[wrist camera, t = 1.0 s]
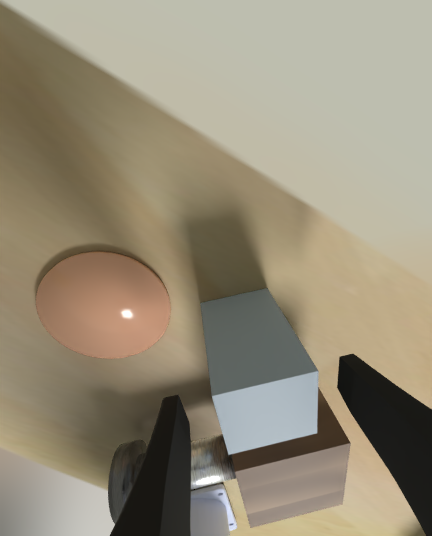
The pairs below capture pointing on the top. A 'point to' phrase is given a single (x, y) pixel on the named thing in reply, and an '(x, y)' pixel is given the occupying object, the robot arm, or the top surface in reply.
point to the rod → (202, 468)
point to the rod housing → (295, 472)
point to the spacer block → (258, 372)
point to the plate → (103, 305)
